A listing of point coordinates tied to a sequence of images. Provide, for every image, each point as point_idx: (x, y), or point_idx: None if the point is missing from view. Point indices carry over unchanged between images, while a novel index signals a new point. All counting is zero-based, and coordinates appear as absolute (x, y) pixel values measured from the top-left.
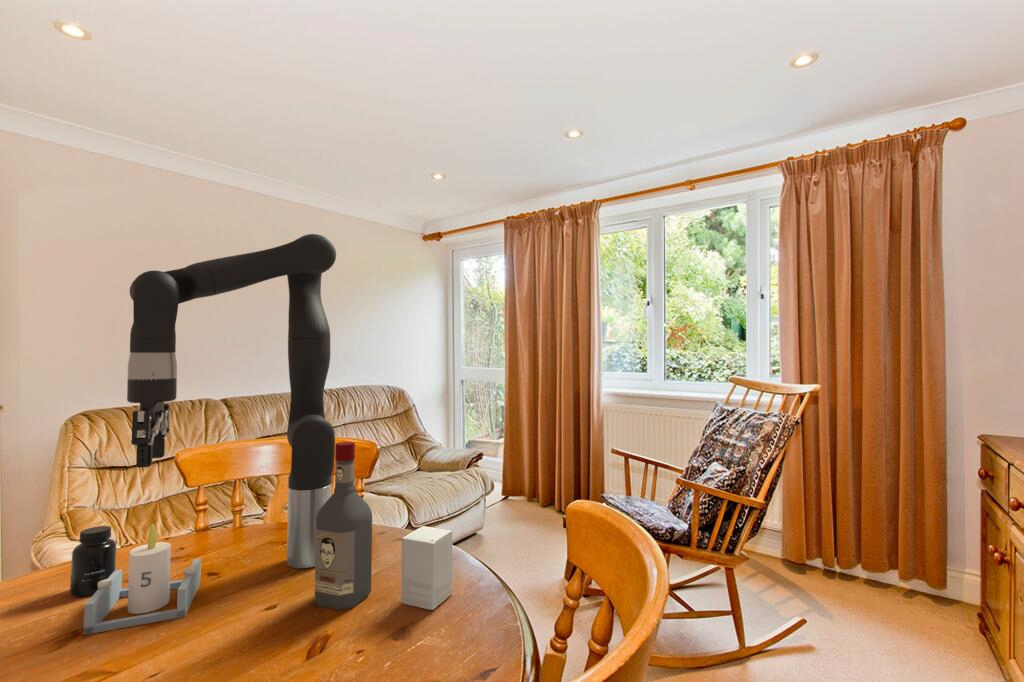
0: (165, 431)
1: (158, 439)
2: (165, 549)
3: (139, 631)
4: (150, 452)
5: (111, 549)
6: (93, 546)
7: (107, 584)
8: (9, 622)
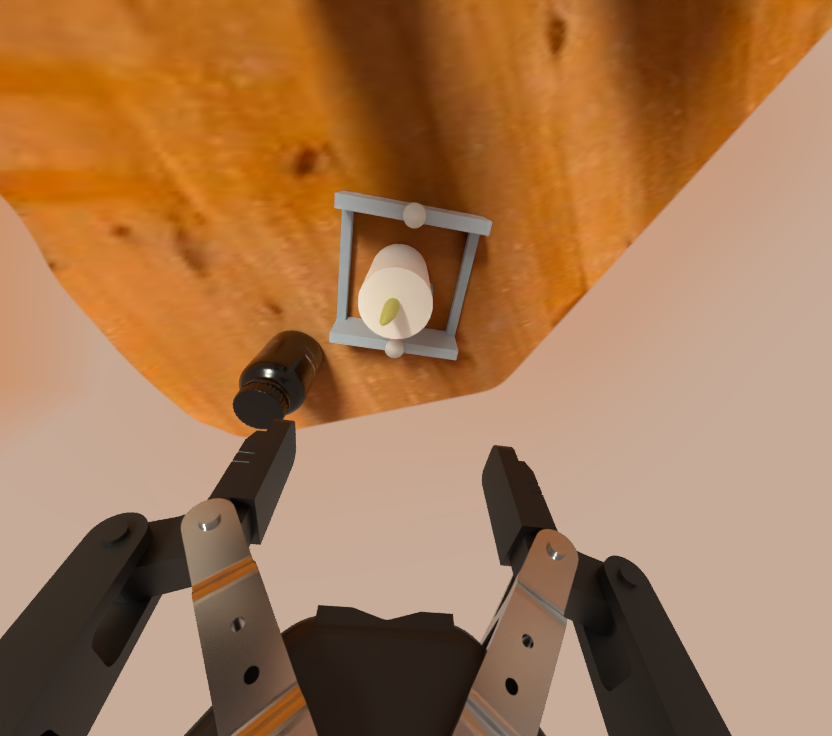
0: (207, 543)
1: (256, 517)
2: (418, 276)
3: (487, 278)
4: (531, 498)
5: (285, 364)
6: (291, 394)
7: (402, 344)
8: (362, 415)
